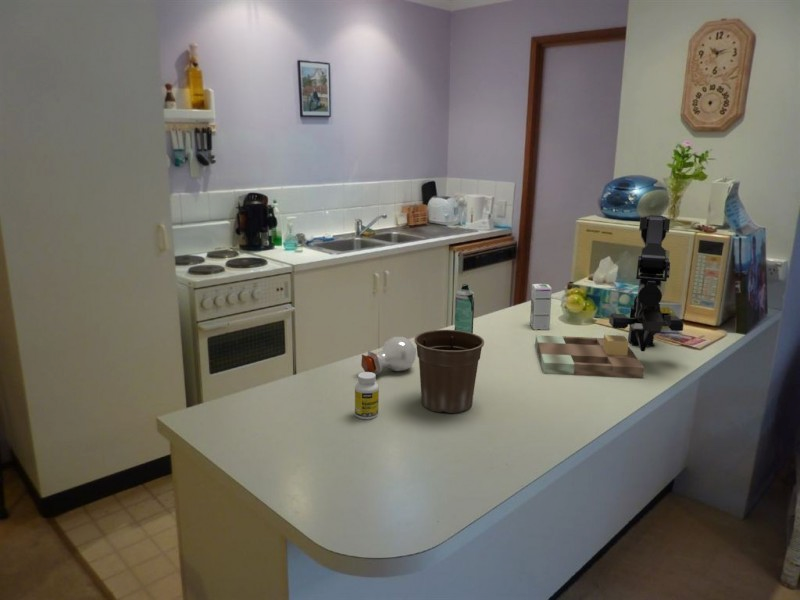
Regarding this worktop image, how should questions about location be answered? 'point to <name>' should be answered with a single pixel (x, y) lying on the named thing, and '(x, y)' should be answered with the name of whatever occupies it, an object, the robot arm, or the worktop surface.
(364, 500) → the worktop surface
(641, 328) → the robot arm
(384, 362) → the potion bottle
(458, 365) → the plant pot
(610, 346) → the ochre block
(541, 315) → the syrup box
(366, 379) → the supplement bottle
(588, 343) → the trap board
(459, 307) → the spray can
